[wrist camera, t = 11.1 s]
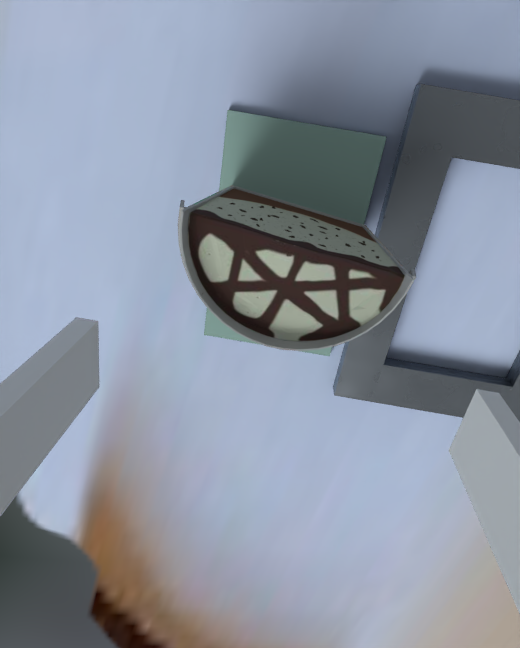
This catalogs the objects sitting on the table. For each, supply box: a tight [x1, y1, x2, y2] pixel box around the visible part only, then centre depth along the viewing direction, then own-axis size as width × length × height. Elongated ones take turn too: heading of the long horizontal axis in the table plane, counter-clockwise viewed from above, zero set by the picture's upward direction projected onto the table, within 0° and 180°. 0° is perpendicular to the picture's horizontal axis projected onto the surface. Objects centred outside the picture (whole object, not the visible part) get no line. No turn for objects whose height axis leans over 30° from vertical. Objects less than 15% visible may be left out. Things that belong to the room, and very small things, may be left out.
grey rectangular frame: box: [333, 84, 520, 422], centre depth 30 cm, size 16×22×1 cm
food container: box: [178, 185, 416, 351], centre depth 26 cm, size 12×6×10 cm, turn 74°
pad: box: [204, 110, 386, 356], centre depth 30 cm, size 10×16×1 cm, turn 171°
